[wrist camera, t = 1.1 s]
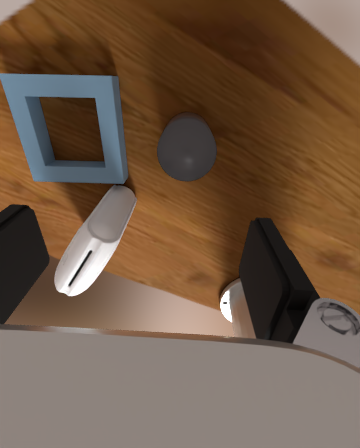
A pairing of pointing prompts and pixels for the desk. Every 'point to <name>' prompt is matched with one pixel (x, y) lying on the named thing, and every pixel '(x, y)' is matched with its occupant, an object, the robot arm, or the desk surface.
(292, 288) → the robot arm
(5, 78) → the collar
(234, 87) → the desk surface
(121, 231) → the photo printer
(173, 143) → the dark grey cylinder
